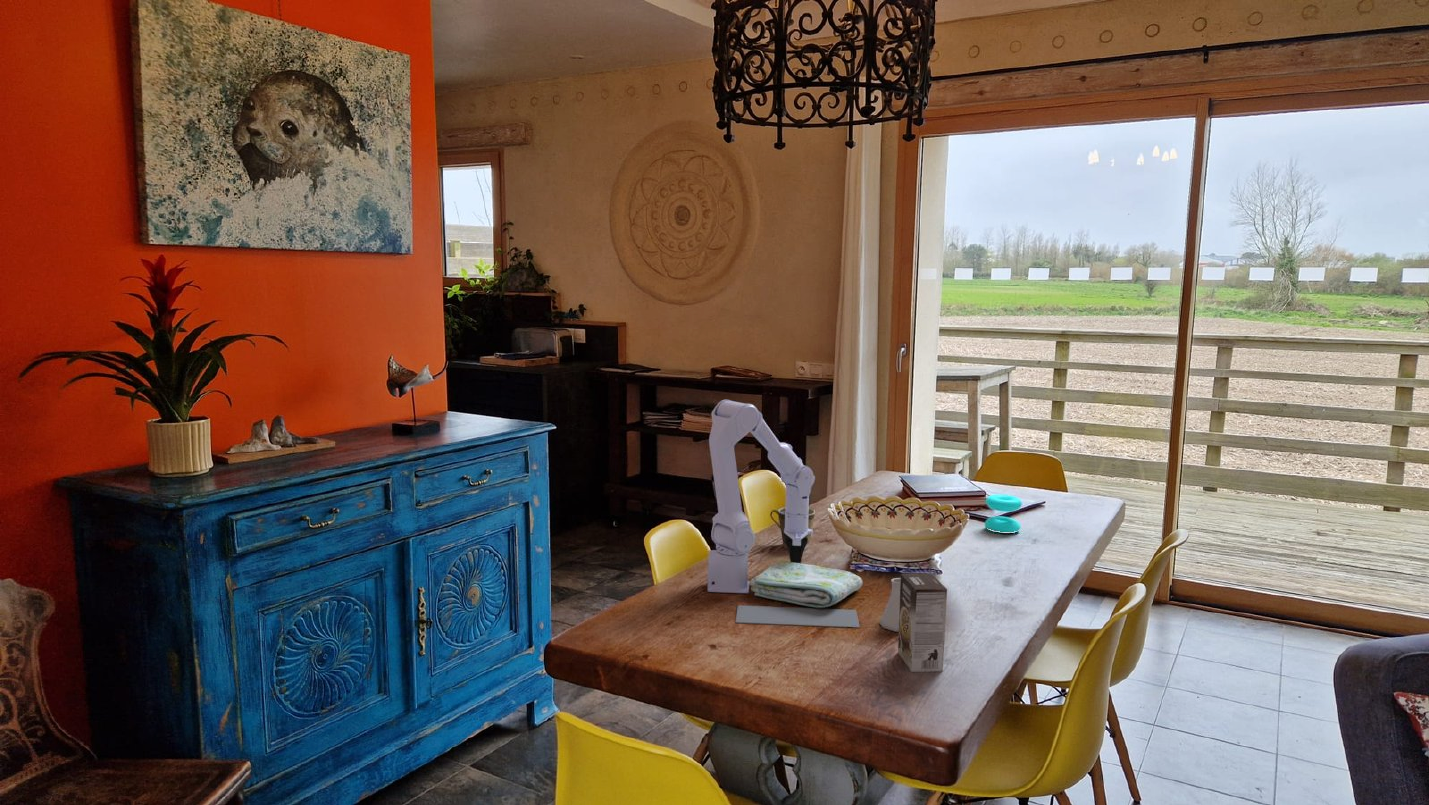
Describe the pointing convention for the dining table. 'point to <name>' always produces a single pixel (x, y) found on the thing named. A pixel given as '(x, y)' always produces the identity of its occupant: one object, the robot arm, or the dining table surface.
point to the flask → (892, 608)
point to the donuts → (1006, 505)
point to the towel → (805, 584)
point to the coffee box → (922, 622)
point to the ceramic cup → (782, 523)
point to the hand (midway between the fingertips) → (795, 565)
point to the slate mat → (797, 616)
